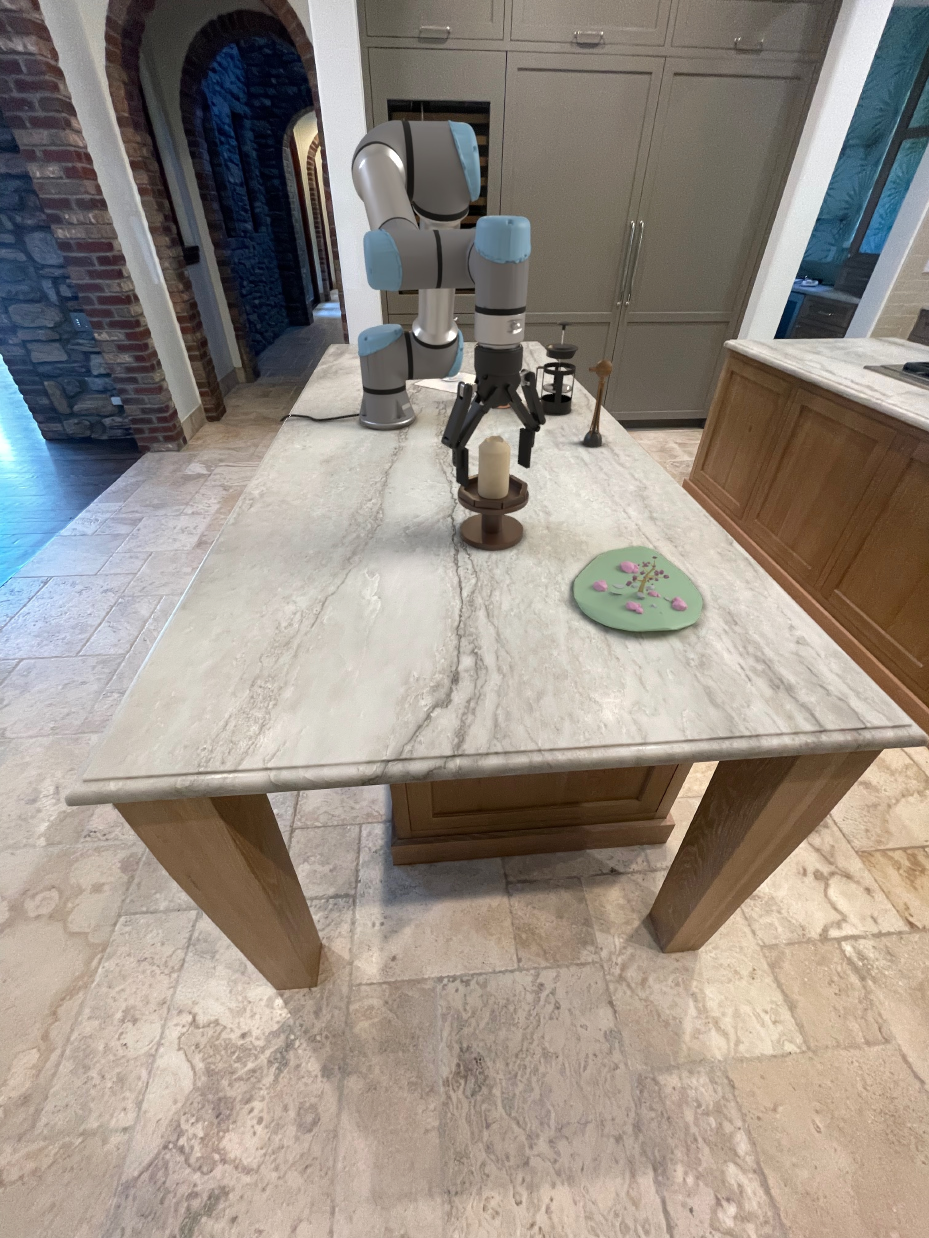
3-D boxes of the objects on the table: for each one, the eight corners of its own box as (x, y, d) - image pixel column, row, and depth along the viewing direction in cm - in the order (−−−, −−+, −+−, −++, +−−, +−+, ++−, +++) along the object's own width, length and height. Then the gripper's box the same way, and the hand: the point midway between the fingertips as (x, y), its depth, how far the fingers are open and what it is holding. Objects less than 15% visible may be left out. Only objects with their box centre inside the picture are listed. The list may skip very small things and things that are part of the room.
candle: (505, 501, 95) (508, 446, 88) (475, 498, 96) (476, 443, 89) (510, 487, 99) (513, 433, 92) (480, 484, 100) (482, 431, 93)
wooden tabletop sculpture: (581, 447, 135) (593, 362, 122) (576, 440, 139) (588, 357, 126) (604, 447, 135) (618, 362, 123) (599, 440, 139) (612, 356, 126)
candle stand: (451, 547, 99) (450, 499, 92) (464, 514, 108) (464, 468, 102) (521, 555, 97) (525, 506, 90) (528, 520, 107) (532, 474, 100)
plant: (565, 546, 99) (572, 501, 93) (679, 550, 98) (692, 506, 92) (578, 635, 80) (587, 586, 74) (719, 641, 79) (739, 593, 73)
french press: (571, 405, 160) (582, 318, 145) (575, 415, 153) (586, 325, 138) (532, 404, 161) (539, 318, 146) (533, 415, 153) (541, 325, 139)
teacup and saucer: (469, 378, 181) (469, 365, 178) (457, 384, 176) (456, 371, 173) (448, 374, 185) (448, 361, 182) (435, 380, 179) (434, 367, 177)
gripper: (442, 360, 74) (446, 501, 87) (576, 337, 84) (560, 465, 98) (415, 349, 78) (422, 484, 92) (545, 328, 89) (534, 452, 103)
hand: (493, 474), depth 95 cm, fingers open, 13 cm apart
